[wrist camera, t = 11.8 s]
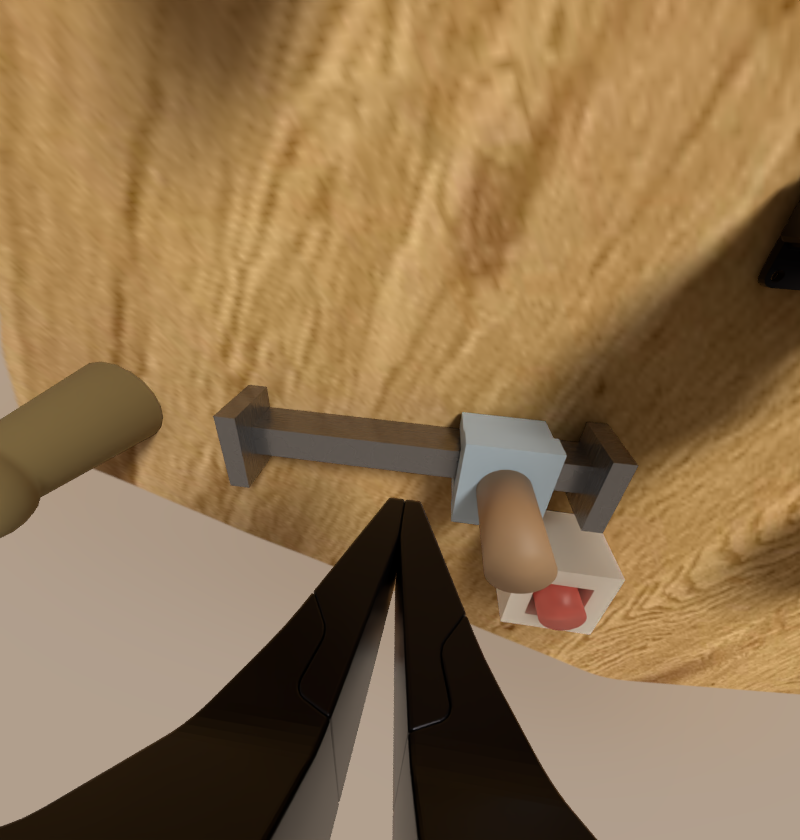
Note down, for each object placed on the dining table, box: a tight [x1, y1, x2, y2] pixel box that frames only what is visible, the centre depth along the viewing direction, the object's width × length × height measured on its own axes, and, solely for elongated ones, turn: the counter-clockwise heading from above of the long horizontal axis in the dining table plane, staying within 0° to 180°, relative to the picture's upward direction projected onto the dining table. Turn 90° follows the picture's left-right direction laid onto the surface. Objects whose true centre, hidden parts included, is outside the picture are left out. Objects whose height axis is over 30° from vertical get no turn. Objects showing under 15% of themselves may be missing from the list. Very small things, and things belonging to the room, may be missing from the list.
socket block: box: [496, 510, 625, 635], centre depth 24 cm, size 6×6×5 cm
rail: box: [213, 385, 638, 534], centre depth 21 cm, size 22×5×4 cm, turn 86°
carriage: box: [451, 412, 567, 594], centre depth 19 cm, size 5×6×9 cm
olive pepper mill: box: [0, 362, 163, 538], centre depth 20 cm, size 6×6×11 cm
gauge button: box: [533, 584, 587, 630], centre depth 23 cm, size 3×3×4 cm
